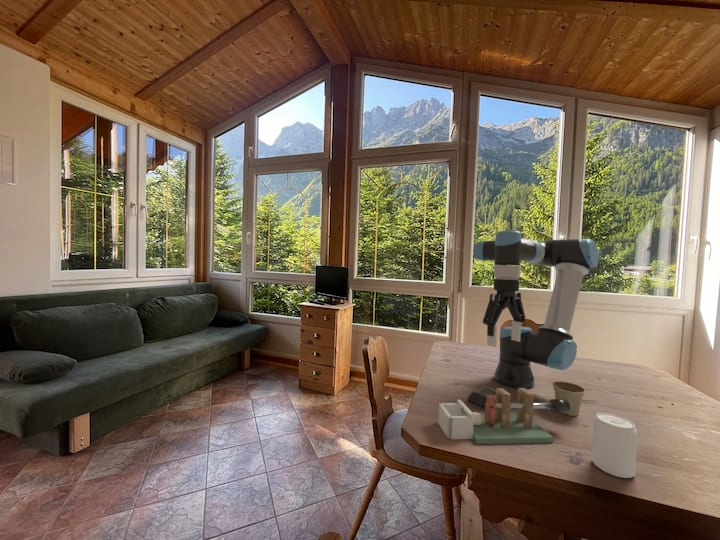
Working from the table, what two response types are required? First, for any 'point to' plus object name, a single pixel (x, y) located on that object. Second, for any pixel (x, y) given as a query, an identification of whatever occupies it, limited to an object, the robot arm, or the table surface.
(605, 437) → the beverage can
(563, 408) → the rod
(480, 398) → the rock
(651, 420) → the table surface
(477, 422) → the ball
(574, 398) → the flower pot
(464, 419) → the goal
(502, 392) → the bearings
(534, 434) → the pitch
